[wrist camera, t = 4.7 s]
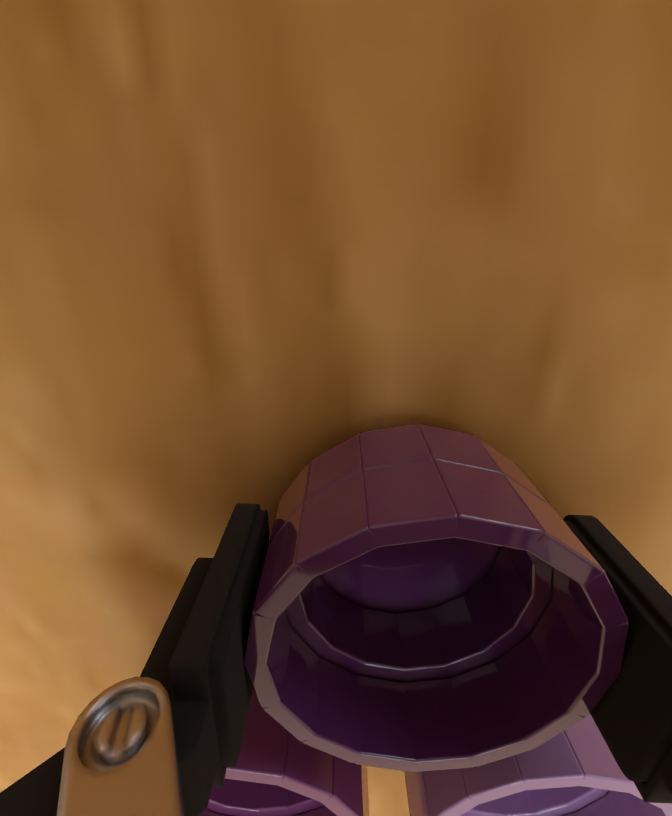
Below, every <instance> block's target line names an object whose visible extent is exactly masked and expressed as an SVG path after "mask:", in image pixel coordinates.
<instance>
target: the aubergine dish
mask: <svg viewBox="0 0 672 816" xmlns="http://www.w3.org/2000/svg"><path fill="white" fill-rule="evenodd" d="M628 621H629V620H628V617H627V615H626V613H625V611H624V609H623V607H622V605H621V603H620V601H619V599H618V597H617V595H616V593H615V590H614V588H613V586H612V584H611V582H610V580H609V578H608V576H607V574H606V572H605V570H604V569H603V568H602V567H601V565H600V564H599V563H598V562H597V561H596V559H595V558H594V557H593V556H592V555H591V553H590V552H589V551H588V550H587V549H586V547H585V546H584V545H583V544H582V543H581V541H580V540H579V539H578V538H577V537H576V535H575V534H574V533H573V532H572V530H571V529H570V528H569V527H568V526H567V524H566V523H565V522H564V521H563V520H562V518H561V517H560V516H559V515H558V514H557V512H556V511H555V510H554V509H553V508H552V506H551V505H550V504H549V503H548V502H547V500H546V499H545V498H544V497H543V496H542V494H541V493H540V492H539V491H538V490H537V488H536V487H535V486H534V485H533V484H532V482H531V481H530V480H529V479H528V478H527V476H526V475H525V474H524V473H523V471H522V470H521V469H520V468H519V467H518V466H517V465H516V464H515V463H514V462H512V461H511V460H510V459H508V458H507V457H505V456H504V455H502V454H501V453H500V452H498V451H497V450H495V449H494V448H492V447H491V446H489V445H488V444H487V443H485V442H484V441H482V440H481V439H479V438H478V437H475V436H474V435H472V434H467V433H462V432H457V431H452V430H448V429H443V428H438V427H433V426H428V425H424V424H418V425H417V424H411V425H404V426H398V427H392V428H385V429H379V430H372V431H366V432H361V433H360V434H359V435H355V436H353V437H351V438H349V439H348V440H346V441H344V442H342V443H341V444H339V445H337V446H335V447H333V448H332V449H330V450H328V451H326V452H325V453H323V454H321V455H319V456H317V457H316V458H314V459H313V460H312V461H310V462H308V464H307V465H306V466H305V467H304V469H303V470H302V471H301V473H300V474H299V475H298V477H297V478H296V479H295V480H294V482H293V483H292V484H291V486H290V487H289V488H288V489H287V491H286V492H285V493H284V495H283V496H282V498H281V501H280V502H279V506H278V510H277V514H276V518H275V522H274V526H273V530H272V534H271V538H270V542H269V546H268V550H267V554H266V558H265V562H264V566H263V570H262V574H261V578H260V582H259V586H258V590H257V594H256V598H255V602H254V606H253V610H252V614H251V620H250V625H249V630H248V636H247V641H246V647H245V652H244V659H243V662H244V667H245V669H246V672H247V674H248V677H249V679H250V681H251V684H252V686H253V689H254V691H255V693H256V696H257V698H258V701H259V703H260V706H261V707H263V710H264V711H265V712H266V713H268V714H269V715H270V716H271V717H272V718H273V719H274V720H276V721H277V722H278V723H279V724H280V725H281V726H282V727H284V728H285V729H286V730H287V731H288V732H289V733H290V734H292V735H293V736H294V737H295V738H296V739H297V740H299V741H302V743H304V744H306V745H308V746H311V747H313V748H316V749H318V750H321V751H323V752H326V753H328V754H330V755H333V756H335V757H338V758H340V759H343V760H345V761H347V762H350V763H354V764H358V765H365V766H372V767H379V768H387V769H394V770H401V771H408V772H412V771H414V772H422V771H434V770H447V769H459V768H472V767H475V766H476V767H478V766H482V765H485V764H488V763H491V762H494V761H498V760H501V759H504V758H507V757H511V756H514V755H517V754H520V753H524V752H527V751H530V750H533V749H534V748H537V747H539V746H540V745H542V744H544V743H545V742H547V741H549V740H550V739H552V738H553V737H555V736H557V735H558V734H560V733H561V732H563V731H565V730H566V729H568V728H569V727H571V726H573V725H574V724H576V723H577V722H579V721H581V720H582V719H584V718H585V716H587V715H588V714H589V713H590V712H591V711H592V709H593V708H594V707H595V705H596V704H597V703H598V702H599V700H600V699H601V698H602V697H603V695H604V694H605V693H606V692H607V690H608V689H609V688H610V687H611V685H612V684H613V683H614V681H615V680H616V679H617V678H618V676H619V673H620V672H621V669H622V663H623V657H624V651H625V645H626V640H627V634H628V628H629V622H628Z"/></svg>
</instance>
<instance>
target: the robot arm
mask: <svg viewBox="0 0 672 816" xmlns="http://www.w3.org/2000/svg"><path fill="white" fill-rule="evenodd" d="M563 521H564V522H565V523H566V524H567V526H568V527H569V528H570V529H571V530H572V532H573V533H574V534H575V535H576V537H577V538H578V539H579V540H580V541H581V543H582V544H583V545H584V546H585V547H586V549H587V550H588V551H589V552H590V553H591V555H592V556H593V557H594V558H595V559H596V561H597V562H598V563H599V564H600V565H601V567H602V568H603V569H604V570H605V572H606V574H607V576H608V578H609V580H610V582H611V584H612V586H613V588H614V590H615V593H616V595H617V597H618V599H619V601H620V603H621V605H622V607H623V609H624V611H625V613H626V615H627V617H628V620H629V621H628V622H629V628H628V634H627V640H626V645H625V651H624V657H623V663H622V669H621V672H620V673H619V676H618V678H617V679H616V680H615V681H614V683H613V684H612V685H611V687H610V688H609V689H608V690H607V692H606V693H605V694H604V695H603V697H602V698H601V699H600V700H599V702H598V703H597V704H596V705H595V707H594V708H593V709H592V711H591V712H590V714H591V716H592V718H593V720H594V722H595V724H596V725H597V727H598V729H599V731H600V733H601V735H602V737H603V738H604V740H605V742H606V744H607V746H608V748H609V750H610V751H611V753H612V755H613V757H614V759H615V761H616V762H617V764H618V766H619V768H620V770H621V771H622V773H623V774H624V775H625V776H626V778H628V779H629V780H630V781H633V782H634V784H635V786H636V787H637V789H638V791H639V793H640V795H641V796H642V798H643V800H644V802H646V803H672V596H671V595H670V594H669V593H668V592H667V591H666V590H665V589H664V588H663V587H662V586H661V585H660V584H659V583H658V582H657V581H656V580H655V578H654V577H653V576H652V575H651V574H650V573H649V572H648V571H647V570H646V569H645V568H644V567H643V566H642V565H641V564H640V563H639V562H638V561H637V560H636V559H635V558H634V557H633V556H632V555H631V554H630V552H629V551H628V550H627V549H626V548H625V547H624V546H623V545H622V544H621V543H620V542H619V541H618V540H617V539H616V538H615V537H614V536H613V535H612V534H611V533H610V532H609V531H608V530H607V529H606V528H605V526H604V525H603V524H602V523H601V522H600V521H599V520H598V519H596V518H595V517H593V516H584V515H567V516H566V517H564V519H563ZM268 546H269V526H268V512H267V510H261V509H260V505H259V504H236V506H235V508H234V510H233V513H232V515H231V518H230V520H229V522H228V525H227V527H226V529H225V532H224V534H223V537H222V539H221V541H220V544H219V546H218V549H217V551H216V553H215V556H214V558H198V559H197V560H196V561H195V563H194V565H193V566H192V568H191V570H190V573H189V575H188V577H187V579H186V581H185V583H184V585H183V587H182V589H181V592H180V594H179V596H178V598H177V600H176V602H175V604H174V606H173V608H172V610H171V613H170V615H169V617H168V619H167V621H166V623H165V625H164V627H163V629H162V631H161V634H160V636H159V638H158V640H157V642H156V644H155V646H154V648H153V650H152V652H151V655H150V657H149V659H148V661H147V663H146V665H145V667H144V669H143V671H142V673H141V676H140V677H134V678H130V679H126V680H123V681H120V682H118V683H116V684H114V685H113V686H111V687H109V688H107V689H105V690H104V691H103V692H102V693H101V694H99V695H98V696H97V697H96V698H94V699H93V700H92V701H91V702H90V703H89V704H88V706H87V707H86V708H85V709H84V710H83V712H82V713H81V714H80V715H79V716H78V718H77V720H76V722H75V724H74V725H73V727H72V729H71V731H70V733H69V736H68V740H67V743H66V747H65V748H63V749H62V750H60V751H59V752H58V753H56V754H55V755H53V756H52V757H51V758H49V759H48V760H46V761H45V762H43V763H42V764H41V765H39V766H38V767H36V768H35V769H34V770H32V771H31V772H29V773H28V774H26V775H25V776H24V777H22V778H21V779H19V780H18V781H17V782H15V783H14V784H12V785H11V786H9V787H8V788H7V789H5V790H4V791H2V792H1V793H0V816H199V815H200V814H201V813H202V812H203V811H204V810H205V809H206V808H207V807H208V803H209V799H210V795H211V790H212V787H215V788H222V787H223V783H224V778H225V774H226V769H227V767H236V765H237V762H238V758H239V754H240V749H241V744H242V739H243V734H244V729H245V725H246V720H247V715H248V710H249V705H250V700H251V695H252V690H253V686H252V684H251V681H250V679H249V677H248V674H247V672H246V669H245V667H244V662H243V659H244V652H245V647H246V641H247V636H248V630H249V625H250V620H251V614H252V610H253V606H254V602H255V598H256V594H257V590H258V586H259V582H260V578H261V574H262V570H263V566H264V562H265V558H266V554H267V550H268Z"/></svg>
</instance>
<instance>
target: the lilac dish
mask: <svg viewBox="0 0 672 816" xmlns="http://www.w3.org/2000/svg"><path fill="white" fill-rule="evenodd" d="M404 772H405V780H406V788H407V796H408V804H409V812H410V816H672V803H646V802H644V800H643V798H642V796H641V795H640V793H639V791H638V789H637V787H636V786H635V784H634V782H633V781H630V780H629V779H628V778H626V776H625V775H624V774H623V773H622V771H621V770H620V768H619V766H618V764H617V762H616V761H615V759H614V757H613V755H612V753H611V751H610V750H609V748H608V746H607V744H606V742H605V740H604V738H603V737H602V735H601V733H600V731H599V729H598V727H597V725H596V724H595V722H594V720H593V718H592V716H591V714H590V713H589V714H588V715H587V716H585V718H584V719H582V720H581V721H579V722H577V723H576V724H574V725H573V726H571V727H569V728H568V729H566V730H565V731H563V732H561V733H560V734H558V735H557V736H555V737H553V738H552V739H550V740H549V741H547V742H545V743H544V744H542V745H540V746H539V747H537V748H534V749H533V750H530V751H527V752H524V753H520V754H517V755H514V756H511V757H507V758H504V759H501V760H498V761H494V762H491V763H488V764H485V765H482V766H478V767H476V766H475V767H472V768H459V769H447V770H434V771H422V772H414V771H412V772H408V771H404Z"/></svg>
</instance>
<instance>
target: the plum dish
mask: <svg viewBox="0 0 672 816" xmlns="http://www.w3.org/2000/svg"><path fill="white" fill-rule="evenodd" d="M199 816H369V800H368V780H367V768H366V766H365V765H358V764H354V763H350V762H347V761H345V760H343V759H340V758H338V757H335V756H333V755H330V754H328V753H326V752H323V751H321V750H318V749H316V748H313V747H311V746H308V745H306V744H304V743H302V741H299V740H297V739H296V738H295V737H294V736H293V735H292V734H290V733H289V732H288V731H287V730H286V729H285V728H284V727H282V726H281V725H280V724H279V723H278V722H277V721H276V720H274V719H273V718H272V717H271V716H270V715H269V714H268V713H266V712H265V711H264V710H263V707H261V706H260V703H259V701H258V698H257V696H256V693H255V691H254V689H253V690H252V695H251V700H250V705H249V710H248V715H247V720H246V725H245V729H244V734H243V739H242V744H241V749H240V754H239V758H238V762H237V765H236V767H227V769H226V774H225V778H224V783H223V787H222V788H215V787H212V790H211V795H210V799H209V803H208V807H207V808H206V809H205V810H204V811H203V812H202V813H201V814H200V815H199Z"/></svg>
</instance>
